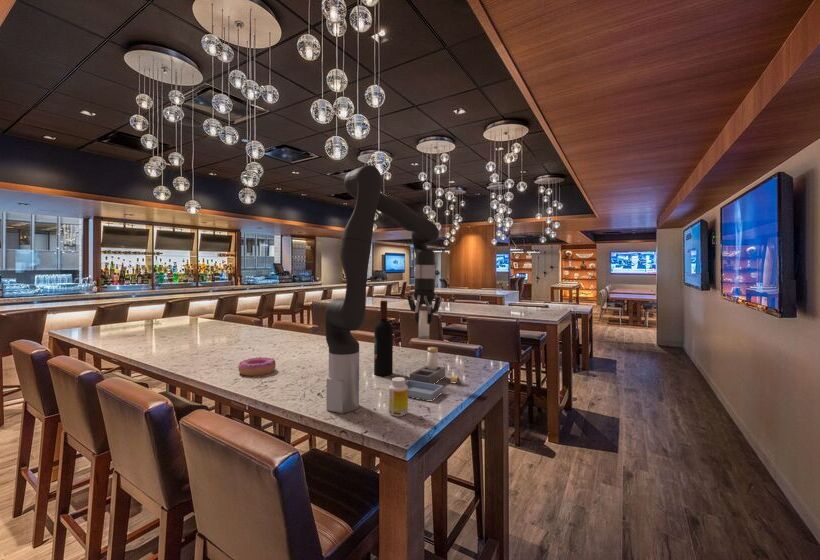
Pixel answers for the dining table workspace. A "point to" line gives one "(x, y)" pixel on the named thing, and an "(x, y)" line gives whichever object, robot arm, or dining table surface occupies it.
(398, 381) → the supplement bottle
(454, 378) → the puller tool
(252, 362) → the donut
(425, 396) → the parts tray
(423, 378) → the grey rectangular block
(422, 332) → the cylinder
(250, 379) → the dining table surface
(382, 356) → the wine bottle
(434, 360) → the cylinder
